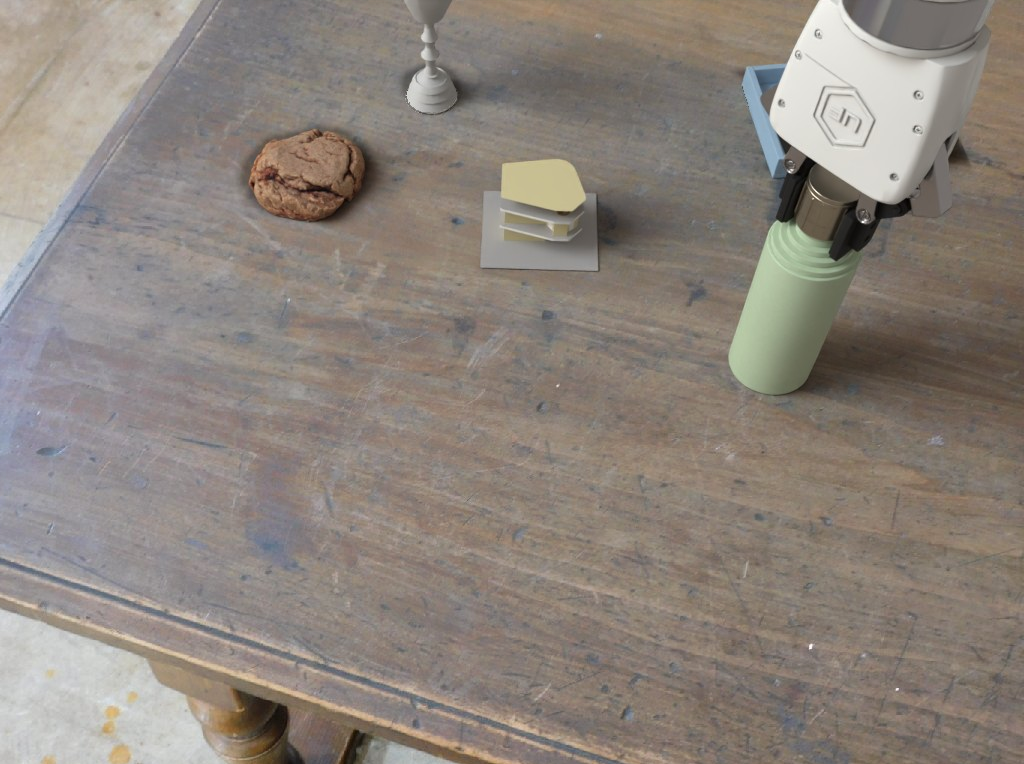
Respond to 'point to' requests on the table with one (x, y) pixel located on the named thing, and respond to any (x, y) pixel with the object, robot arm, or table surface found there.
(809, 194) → the bronze metal cap
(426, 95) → the chalice
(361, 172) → the cookie
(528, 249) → the stacked layers on plate
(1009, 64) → the table surface
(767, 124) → the tray
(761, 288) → the bottle
